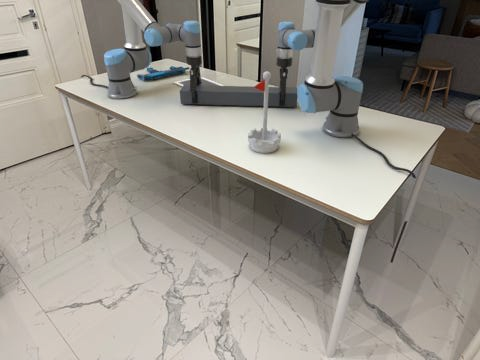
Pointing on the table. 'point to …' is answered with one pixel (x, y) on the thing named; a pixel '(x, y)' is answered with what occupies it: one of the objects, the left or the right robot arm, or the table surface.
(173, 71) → the submachine gun
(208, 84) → the tablet
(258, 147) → the flag stand
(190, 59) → the left robot arm
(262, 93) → the wide beam
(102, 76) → the table surface
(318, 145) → the table surface
